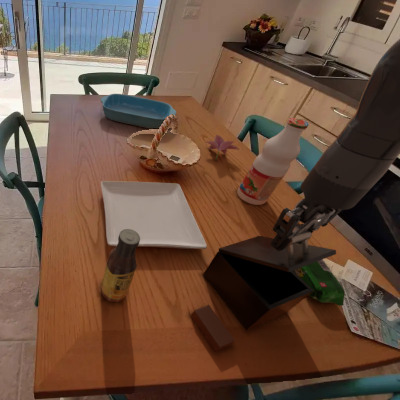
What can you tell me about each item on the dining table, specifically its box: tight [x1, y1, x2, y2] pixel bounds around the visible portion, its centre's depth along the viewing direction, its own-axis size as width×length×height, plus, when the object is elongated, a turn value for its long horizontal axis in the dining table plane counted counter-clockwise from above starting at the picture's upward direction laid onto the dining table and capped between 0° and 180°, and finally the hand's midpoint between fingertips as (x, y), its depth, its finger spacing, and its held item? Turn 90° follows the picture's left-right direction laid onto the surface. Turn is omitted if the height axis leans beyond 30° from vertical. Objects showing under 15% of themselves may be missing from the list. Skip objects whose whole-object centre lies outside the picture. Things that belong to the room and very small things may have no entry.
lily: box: [204, 134, 240, 160], centre depth 109 cm, size 12×12×10 cm
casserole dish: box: [100, 93, 177, 130], centre depth 132 cm, size 37×22×7 cm, turn 71°
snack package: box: [293, 259, 346, 306], centre depth 67 cm, size 7×16×5 cm, turn 177°
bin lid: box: [218, 230, 337, 272], centre depth 56 cm, size 16×13×6 cm
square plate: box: [100, 180, 208, 250], centre depth 81 cm, size 27×27×4 cm
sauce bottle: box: [100, 229, 140, 303], centre depth 57 cm, size 7×6×20 cm
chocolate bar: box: [190, 304, 236, 353], centre depth 57 cm, size 8×4×2 cm, turn 20°
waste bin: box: [202, 250, 314, 331], centre depth 62 cm, size 15×13×10 cm
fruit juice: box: [236, 117, 309, 206], centre depth 84 cm, size 9×9×28 cm
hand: (286, 243), depth 53 cm, fingers closed on bin lid, 5 cm apart
